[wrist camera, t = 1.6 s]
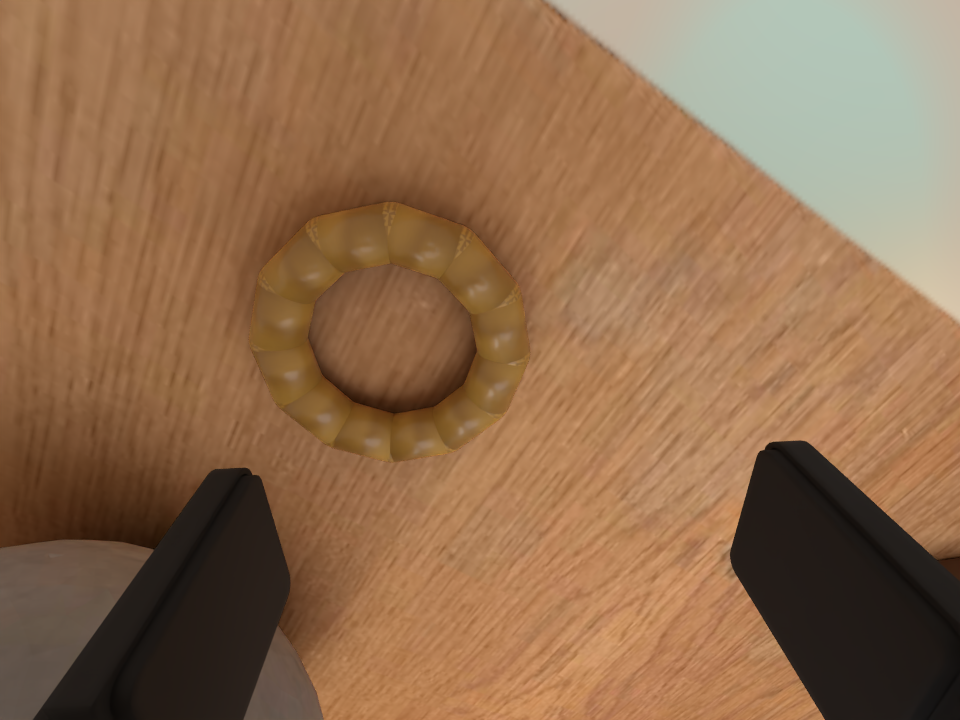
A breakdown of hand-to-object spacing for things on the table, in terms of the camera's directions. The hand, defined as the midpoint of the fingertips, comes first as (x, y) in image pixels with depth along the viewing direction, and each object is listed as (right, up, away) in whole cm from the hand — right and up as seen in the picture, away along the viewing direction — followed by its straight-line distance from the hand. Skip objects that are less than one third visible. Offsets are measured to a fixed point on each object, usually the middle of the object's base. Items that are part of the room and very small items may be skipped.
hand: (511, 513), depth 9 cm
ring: (-4, +3, +7) cm, 9 cm away
